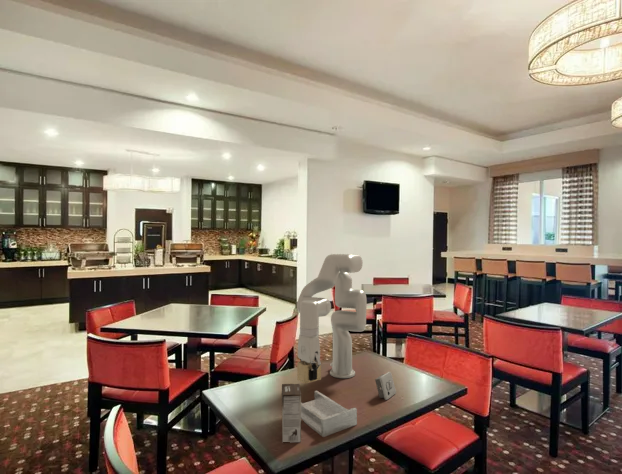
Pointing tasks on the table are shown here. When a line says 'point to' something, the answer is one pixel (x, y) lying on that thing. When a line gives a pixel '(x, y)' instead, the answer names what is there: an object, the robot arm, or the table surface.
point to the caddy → (327, 415)
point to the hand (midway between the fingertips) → (309, 377)
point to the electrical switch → (385, 386)
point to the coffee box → (291, 413)
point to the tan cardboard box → (306, 372)
